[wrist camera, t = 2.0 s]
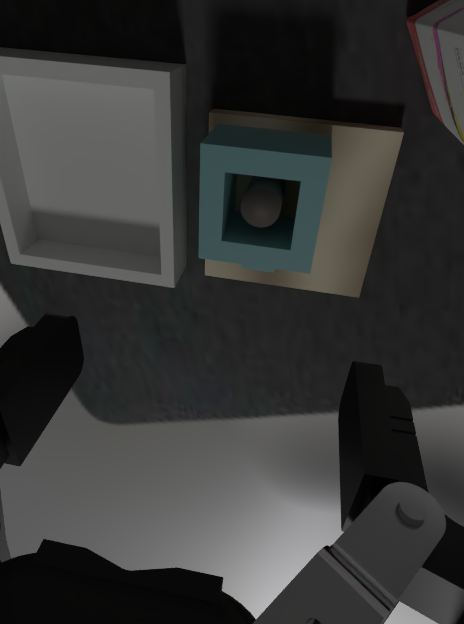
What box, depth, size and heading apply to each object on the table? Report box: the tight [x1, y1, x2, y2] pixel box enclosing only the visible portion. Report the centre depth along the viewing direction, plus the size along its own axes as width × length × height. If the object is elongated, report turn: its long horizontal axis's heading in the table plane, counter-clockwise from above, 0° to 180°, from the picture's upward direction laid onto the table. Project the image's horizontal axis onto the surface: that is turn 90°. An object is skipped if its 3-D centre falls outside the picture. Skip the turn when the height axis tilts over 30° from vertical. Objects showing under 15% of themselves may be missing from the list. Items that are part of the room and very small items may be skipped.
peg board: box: [205, 109, 404, 297], centre depth 25 cm, size 10×10×4 cm
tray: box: [0, 47, 187, 288], centre depth 26 cm, size 11×12×3 cm
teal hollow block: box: [199, 123, 332, 274], centre depth 24 cm, size 6×8×4 cm
